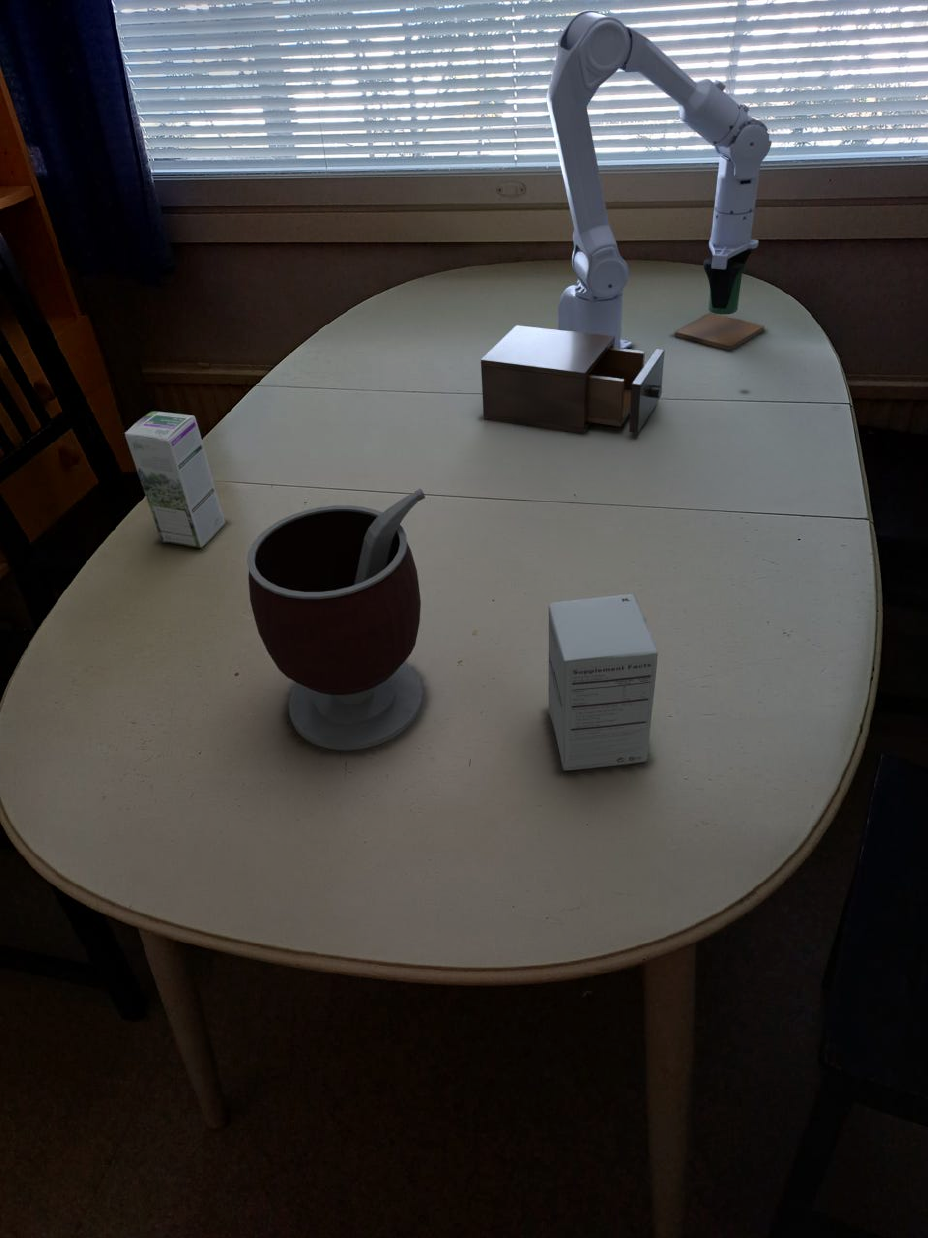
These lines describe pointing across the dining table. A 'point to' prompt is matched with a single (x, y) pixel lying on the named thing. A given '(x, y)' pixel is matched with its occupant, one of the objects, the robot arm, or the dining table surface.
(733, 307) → the green pot
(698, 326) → the board
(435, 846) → the dining table surface
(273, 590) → the mate gourd
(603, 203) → the robot arm
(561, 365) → the small wooden cabinet
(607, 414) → the drawer
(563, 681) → the white packaging box
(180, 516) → the syrup box
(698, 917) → the dining table surface
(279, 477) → the dining table surface
